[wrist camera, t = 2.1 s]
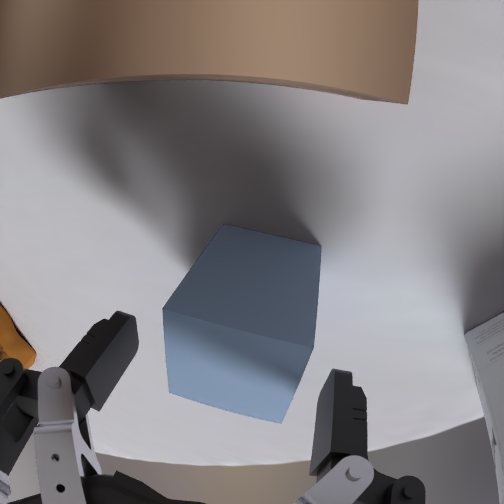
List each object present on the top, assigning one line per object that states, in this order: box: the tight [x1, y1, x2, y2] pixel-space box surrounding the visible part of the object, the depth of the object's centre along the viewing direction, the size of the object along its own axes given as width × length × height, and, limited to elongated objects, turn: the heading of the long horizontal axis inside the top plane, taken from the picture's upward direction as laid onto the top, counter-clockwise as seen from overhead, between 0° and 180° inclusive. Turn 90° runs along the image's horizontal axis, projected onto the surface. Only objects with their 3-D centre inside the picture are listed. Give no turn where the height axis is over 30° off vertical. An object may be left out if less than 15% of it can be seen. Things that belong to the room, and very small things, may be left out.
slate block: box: [163, 224, 321, 424], centre depth 14 cm, size 5×5×7 cm
